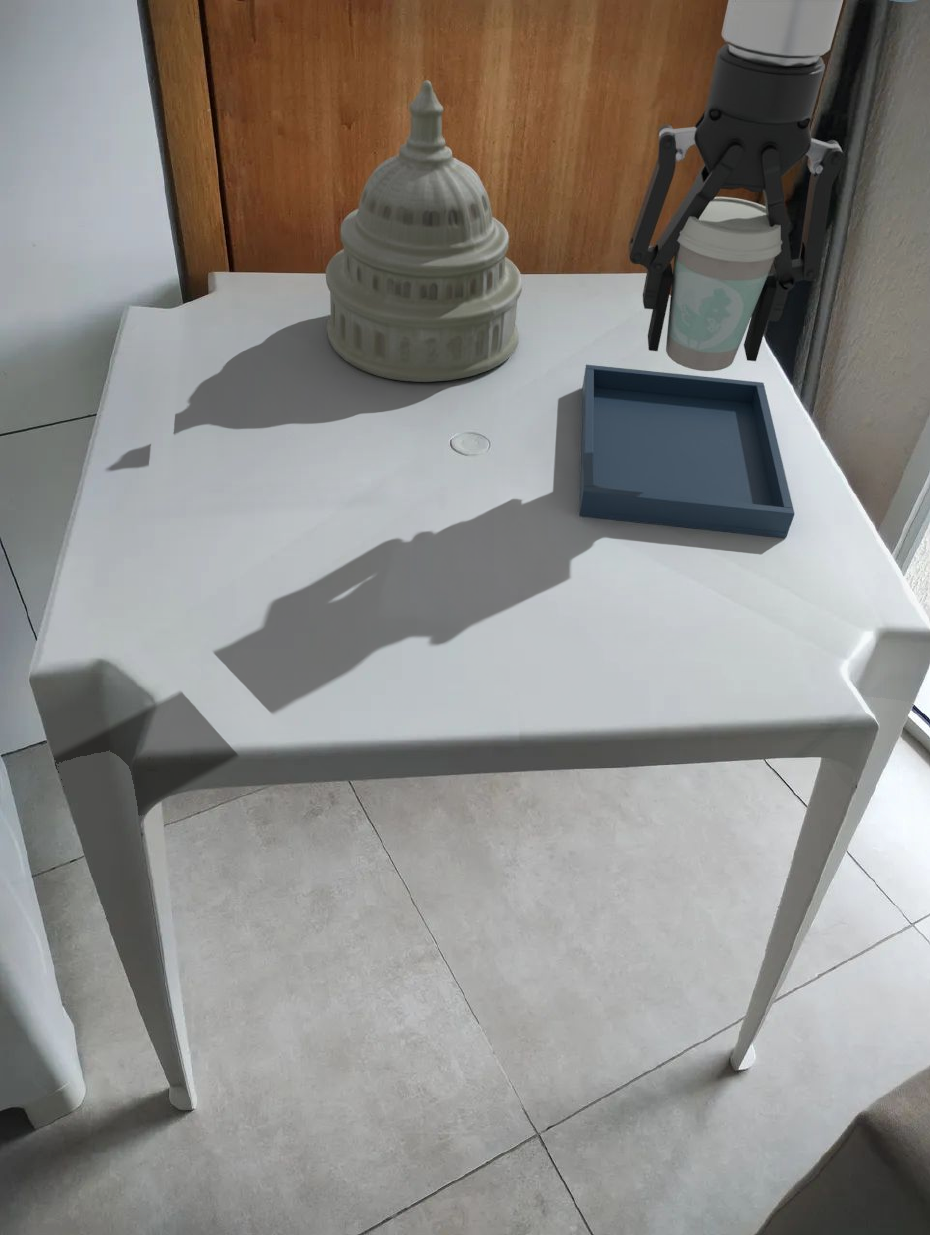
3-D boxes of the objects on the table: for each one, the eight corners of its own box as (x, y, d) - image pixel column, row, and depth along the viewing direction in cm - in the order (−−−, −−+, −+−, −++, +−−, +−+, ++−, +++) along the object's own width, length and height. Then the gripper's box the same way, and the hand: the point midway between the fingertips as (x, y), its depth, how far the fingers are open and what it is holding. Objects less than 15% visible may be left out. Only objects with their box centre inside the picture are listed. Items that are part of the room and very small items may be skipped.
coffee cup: (629, 348, 86) (655, 208, 78) (692, 321, 90) (723, 186, 82) (707, 391, 82) (744, 246, 73) (769, 360, 86) (811, 220, 78)
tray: (786, 538, 85) (794, 513, 83) (579, 516, 85) (583, 491, 84) (756, 405, 101) (763, 382, 99) (582, 387, 101) (585, 364, 99)
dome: (565, 117, 84) (324, 116, 81) (534, 381, 101) (334, 388, 98) (517, 51, 99) (310, 47, 95) (497, 292, 116) (321, 296, 112)
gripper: (908, 49, 72) (814, 339, 88) (625, 23, 73) (582, 316, 89) (933, 78, 67) (828, 382, 82) (627, 50, 67) (581, 357, 83)
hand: (701, 347), depth 85 cm, fingers closed on coffee cup, 8 cm apart
